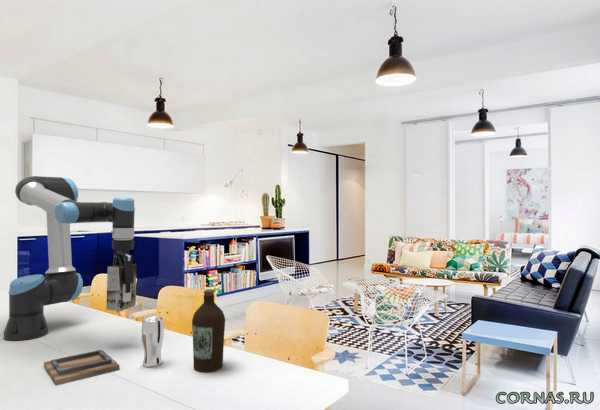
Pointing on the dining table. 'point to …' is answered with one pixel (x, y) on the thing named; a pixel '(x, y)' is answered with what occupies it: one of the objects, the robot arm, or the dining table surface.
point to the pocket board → (80, 366)
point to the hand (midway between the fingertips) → (122, 298)
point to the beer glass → (152, 340)
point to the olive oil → (208, 335)
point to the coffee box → (119, 288)
